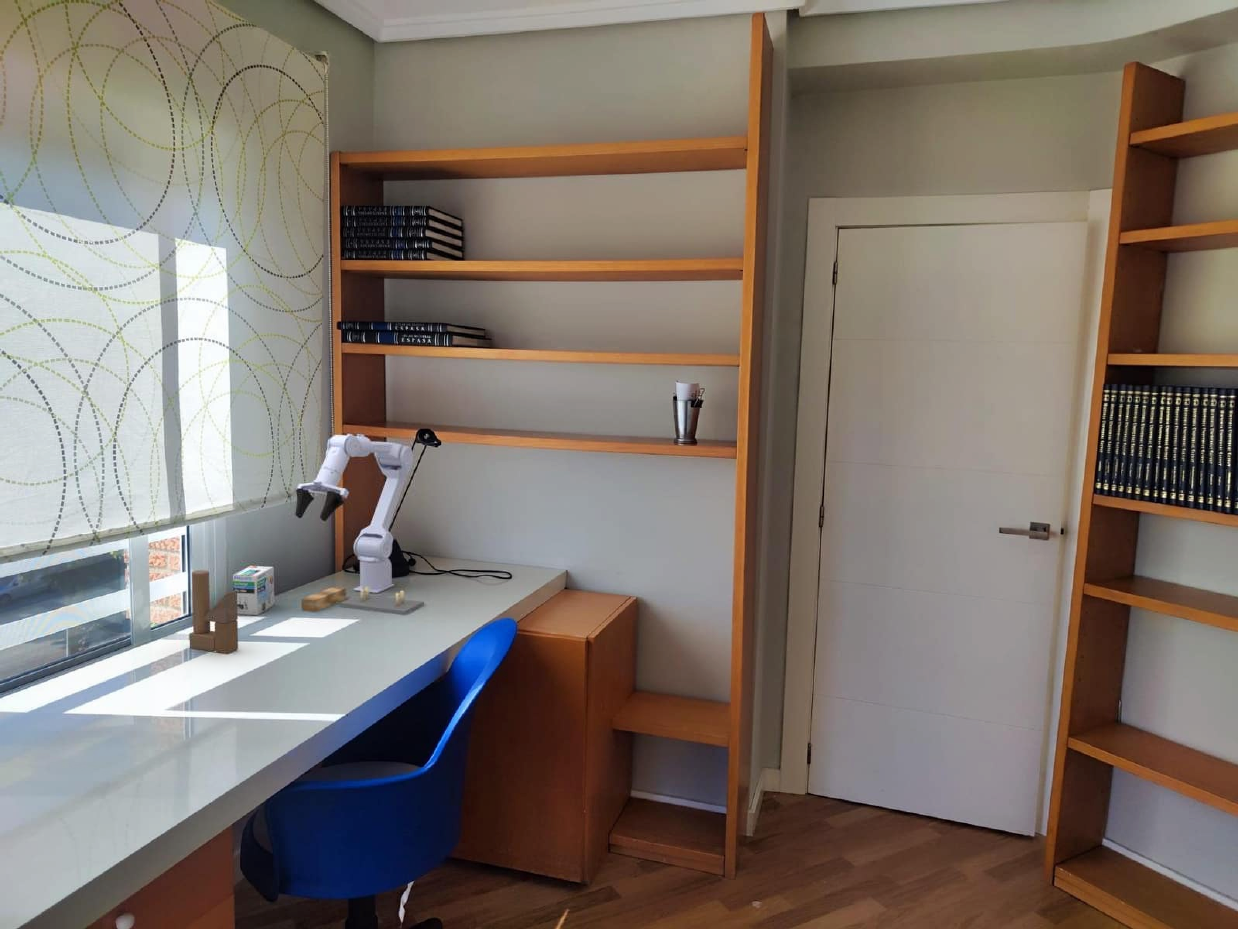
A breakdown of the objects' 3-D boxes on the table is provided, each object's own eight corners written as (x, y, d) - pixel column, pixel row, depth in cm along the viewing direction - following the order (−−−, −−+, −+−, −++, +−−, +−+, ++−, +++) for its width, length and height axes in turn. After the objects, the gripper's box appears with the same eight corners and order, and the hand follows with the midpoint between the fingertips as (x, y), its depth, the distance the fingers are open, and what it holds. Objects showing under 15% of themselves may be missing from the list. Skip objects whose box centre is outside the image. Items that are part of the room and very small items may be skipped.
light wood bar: (334, 598, 241) (334, 586, 241) (346, 600, 240) (346, 588, 240) (301, 611, 228) (301, 599, 228) (314, 613, 227) (314, 600, 226)
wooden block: (227, 654, 193) (225, 577, 191) (189, 648, 196) (187, 572, 194) (239, 649, 196) (237, 573, 194) (201, 643, 199) (199, 568, 197)
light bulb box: (258, 616, 222) (257, 575, 221) (232, 615, 222) (231, 574, 221) (275, 604, 233) (274, 566, 231) (250, 603, 233) (250, 565, 232)
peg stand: (361, 597, 242) (361, 582, 242) (423, 605, 236) (423, 589, 236) (340, 606, 233) (340, 590, 232) (404, 614, 227) (404, 598, 226)
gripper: (300, 463, 228) (278, 507, 221) (346, 468, 223) (326, 513, 217) (313, 477, 233) (292, 520, 227) (358, 482, 229) (339, 526, 223)
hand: (310, 517), depth 222 cm, fingers open, 7 cm apart
